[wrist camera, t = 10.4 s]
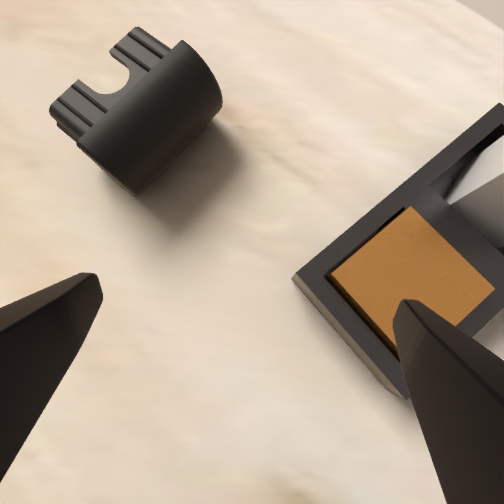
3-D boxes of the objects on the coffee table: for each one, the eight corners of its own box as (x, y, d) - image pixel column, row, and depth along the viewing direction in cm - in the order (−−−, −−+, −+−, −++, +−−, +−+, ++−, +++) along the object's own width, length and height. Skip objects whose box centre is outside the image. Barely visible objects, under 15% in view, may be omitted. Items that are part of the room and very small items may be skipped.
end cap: (150, 211, 24) (108, 171, 18) (92, 162, 25) (32, 108, 19) (229, 127, 26) (218, 61, 19) (170, 85, 27) (140, 8, 20)
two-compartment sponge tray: (571, 214, 23) (635, 192, 19) (385, 388, 20) (414, 405, 17) (471, 127, 25) (510, 92, 21) (291, 278, 22) (297, 270, 18)
